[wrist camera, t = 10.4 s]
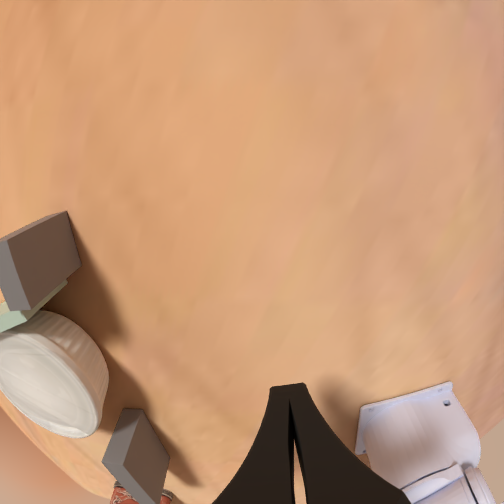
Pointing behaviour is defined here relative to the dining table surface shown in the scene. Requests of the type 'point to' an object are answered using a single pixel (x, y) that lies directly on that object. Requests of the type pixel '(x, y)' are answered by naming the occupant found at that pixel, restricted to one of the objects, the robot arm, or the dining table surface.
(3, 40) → the dining table surface
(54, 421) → the ramekin
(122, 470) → the grey angled pieces
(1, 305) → the door
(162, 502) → the lighter
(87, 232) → the dining table surface
